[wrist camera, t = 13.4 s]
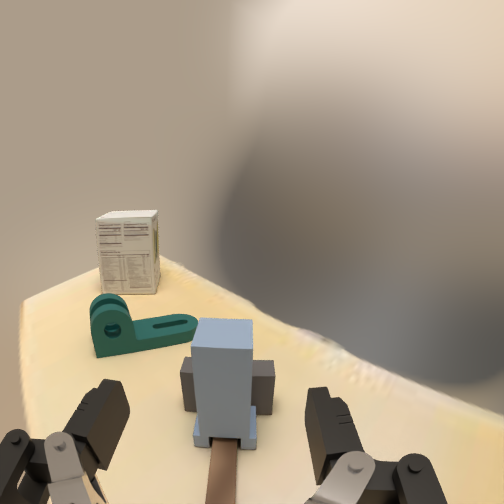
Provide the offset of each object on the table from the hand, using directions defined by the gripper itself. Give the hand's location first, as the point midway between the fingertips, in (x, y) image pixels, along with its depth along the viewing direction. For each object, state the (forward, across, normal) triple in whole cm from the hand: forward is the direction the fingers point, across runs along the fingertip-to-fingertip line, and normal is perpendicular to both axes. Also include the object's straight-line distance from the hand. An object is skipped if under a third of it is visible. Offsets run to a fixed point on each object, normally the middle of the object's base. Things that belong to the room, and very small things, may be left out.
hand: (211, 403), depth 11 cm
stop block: (+17, +1, +17) cm, 24 cm away
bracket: (+31, +16, +17) cm, 39 cm away
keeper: (+12, +1, +17) cm, 21 cm away
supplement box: (+55, +27, +17) cm, 64 cm away
